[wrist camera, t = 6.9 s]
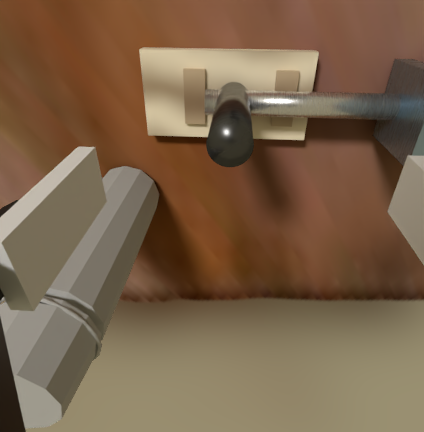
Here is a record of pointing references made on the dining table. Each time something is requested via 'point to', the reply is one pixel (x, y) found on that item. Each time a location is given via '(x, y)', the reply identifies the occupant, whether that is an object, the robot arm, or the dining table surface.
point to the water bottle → (78, 302)
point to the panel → (220, 86)
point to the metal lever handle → (320, 113)
